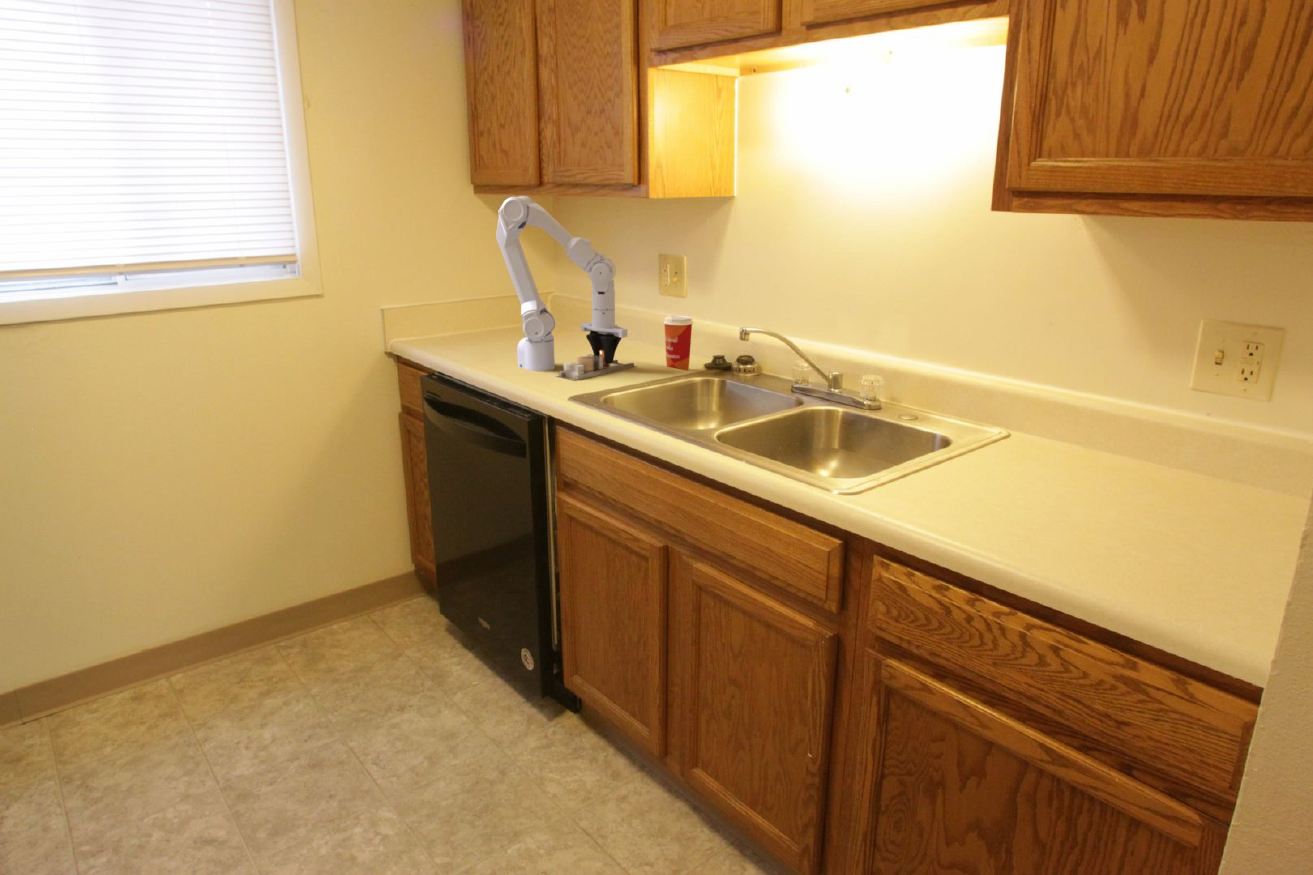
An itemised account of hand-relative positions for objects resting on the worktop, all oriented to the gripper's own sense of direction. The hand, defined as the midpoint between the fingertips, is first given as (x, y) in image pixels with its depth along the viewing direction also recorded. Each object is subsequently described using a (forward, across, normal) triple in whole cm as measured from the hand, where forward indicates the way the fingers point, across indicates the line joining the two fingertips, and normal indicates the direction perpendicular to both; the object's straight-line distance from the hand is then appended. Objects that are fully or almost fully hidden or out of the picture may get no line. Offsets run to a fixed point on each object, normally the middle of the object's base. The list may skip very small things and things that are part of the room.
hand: (604, 362), depth 222 cm
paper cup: (+4, -10, -16) cm, 20 cm away
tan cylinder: (+2, 0, +6) cm, 7 cm away
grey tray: (+3, 0, +2) cm, 4 cm away
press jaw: (+2, 0, 0) cm, 2 cm away
